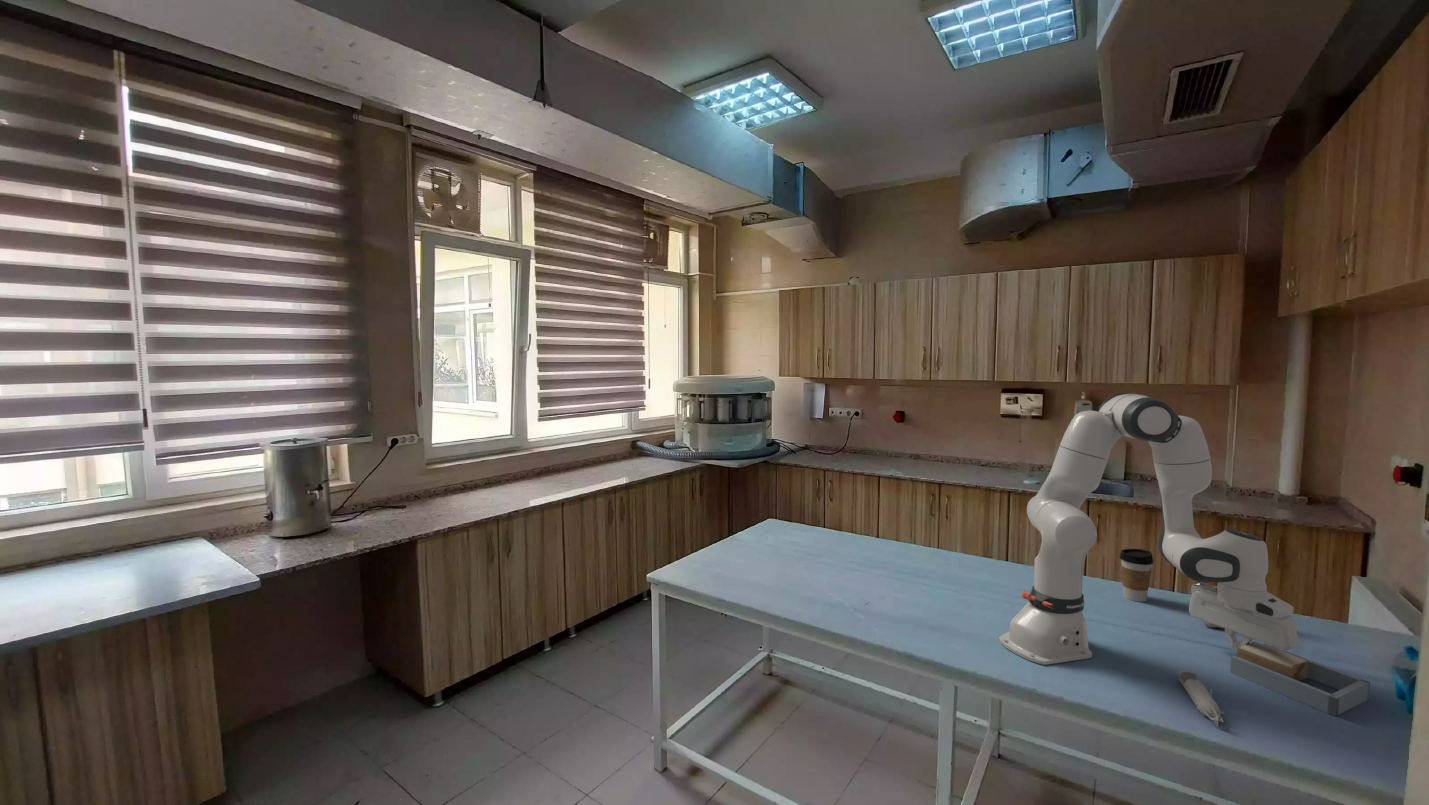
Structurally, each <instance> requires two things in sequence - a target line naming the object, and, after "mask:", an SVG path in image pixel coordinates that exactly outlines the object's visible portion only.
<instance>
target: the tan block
mask: <svg viewBox="0 0 1429 805" xmlns="http://www.w3.org/2000/svg"><path fill="white" fill-rule="evenodd" d="M1263 644H1264V643H1261V642H1258V641H1255V640H1253V641H1251V642H1250V643H1249V644H1246V645H1243V646H1241V647H1238V648H1237V649H1236V656H1237V657H1239V658H1242V659H1244V660H1247V661H1249V662H1252V663H1255V664H1257V665H1260V666H1262V667H1265V668H1267V669H1270V670H1272V671H1275V672H1277V673H1280V674H1282V675H1285V676H1287V677H1290V678H1292V679H1295V680H1297V681H1300V682H1301V681H1302V680H1304V679H1308V678H1307V675H1308V661H1306V660H1304V659H1302V658H1299V657H1296V656H1293V655H1291V654H1288V653H1285V652H1282V651H1280V650H1277V649H1274V648H1271V647H1269V646H1266V645H1263Z"/></svg>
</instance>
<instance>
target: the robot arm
mask: <svg viewBox="0 0 1429 805" xmlns="http://www.w3.org/2000/svg"><path fill="white" fill-rule="evenodd" d="M1123 437H1127V438H1129V439H1136V440H1139V441H1143V442H1144V441H1145V442H1148V444H1149V445H1150V448H1151V452H1152V461H1153V466H1154V471H1155V476H1156V479H1157V483H1158V488H1159V496H1160V505H1161V514H1162V530H1161V534H1160V536H1159V538H1158V543H1157V546H1158V547H1157V548H1158V552H1159V554H1160V556H1162V558H1163V559H1164V560H1165V561H1166V562H1168V563H1169V564H1171V565H1172V566H1174V567H1175V568H1176V569H1177V570H1178V571H1180V572H1181V573H1182V574H1183V575H1185V576H1186V577H1188V578H1189V579H1190V580H1193V581H1194V582H1198V583H1193V584H1192V585H1191V588H1190V590H1191V591H1190V594H1191V598H1190V601H1189V606H1188V613H1189V614H1190V616H1192V617H1193V618H1196V619H1198V620H1201V621H1203V622H1204V621H1206V622H1209V623H1212V624H1215V625H1217V626H1220V627H1223V628H1225V629H1224V633H1225V635H1226V637H1227V638H1228V640H1229V647H1230V648H1233V649H1235V650H1237V648H1238V647H1241V646H1243V645H1246V644H1249V643H1251V642H1253V641H1254V640H1257V641H1259V642H1260V643H1261V642H1262V643H1263V644H1268V645H1270V646H1273V647H1276V648H1279V649H1281V650H1284V651H1289V650H1291V649H1293V648H1295V647H1297V646H1298V627H1297V623H1296V620H1295V619H1294V618H1293V617H1292V614H1293V613H1294V610H1295V609H1294V606H1293V605H1292V604H1289V603H1288V602H1287V601H1284V600H1282V599H1281V598H1279V597H1277V596H1275V595H1273V594H1272V593H1270V592H1269V591H1267V590H1268V586H1267V584H1266V577H1267V574H1268V572H1269V555H1268V553H1269V552H1268V547H1267V544H1266V542H1265V540H1263V539H1262V538H1261V537H1259V536H1257V535H1256V534H1254V533H1250V532H1248V531H1244V530H1240V529H1235V528H1227V529H1224V530H1223V531H1221V532H1220V533H1218V534H1216V535H1213V536H1210V537H1206V538H1202V537H1201V536H1200V534H1199V533H1198V532H1197V530H1196V528H1195V523H1194V513H1193V512H1194V511H1193V503H1192V502H1193V498H1194V496H1195V495H1196V494H1199V493H1201V492H1203V491H1205V490H1206V489H1207V488H1208V487H1209V486H1210V485H1211V483H1212V475H1213V470H1212V469H1213V468H1212V467H1213V466H1212V460H1211V454H1210V450H1209V446H1208V442H1207V439H1206V437H1205V434H1204V431H1203V429H1202V427H1201V425H1200V423H1199V422H1198V421H1197V420H1196V419H1194V418H1193V417H1189V416H1185V415H1177V413H1176V412H1175V411H1174V409H1173V408H1172V407H1171V406H1170V405H1169V404H1168V403H1166V402H1164V401H1163V400H1161V399H1159V398H1156V397H1150V396H1147V395H1144V394H1140V393H1139V394H1138V393H1125V392H1124V393H1118V394H1114V395H1112V396H1109V397H1108V398H1107V399H1105V400H1104V401H1103V402H1102V403H1101V404H1100V405H1099V406H1098V407H1097V408H1096V409H1094V410H1084V411H1083V410H1082V411H1080V412H1077V413H1076V414H1075V415H1074V417H1072V419H1071V421H1070V423H1069V424H1068V426H1067V428H1066V431H1064V434H1063V437H1062V439H1061V442H1060V443H1059V446H1058V450H1057V453H1056V455H1055V458H1054V460H1053V463H1052V467H1051V469H1050V471H1049V473H1048V475H1047V477H1046V479H1045V480H1044V482H1043V484H1042V485H1041V487H1040V488H1039V490H1038V492H1037V493H1036V495H1034V496H1033V497H1032V498H1031V499H1030V500H1029V501H1028V503H1027V506H1026V513H1027V516H1028V519H1029V521H1030V523H1031V525H1032V526H1033V527H1034V528H1036V530H1037V531H1038V532H1040V536H1041V544H1040V548H1039V551H1038V555H1037V556H1035V558H1034V562H1033V563H1034V565H1033V566H1034V568H1033V569H1034V570H1033V585H1032V587H1031V590H1030V592H1028V591H1026V590H1024V591H1022V594H1021V597H1022V598H1023V599H1025V600H1028V602H1027V603H1026V604H1025V605H1024V606H1023V607H1022V609H1020V611H1019V612H1018V613H1017V614H1016V615H1014V617H1013V618H1012V619H1011V620H1010V623H1009V628H1008V631H1007V632H1005V633H1003V634H1001V635H1000V636H999V637H998V641H999V643H1000V644H1001V645H1002V646H1003V647H1005V648H1006V649H1008V650H1009V651H1010V652H1012V653H1013V654H1015V655H1017V656H1019V657H1022V658H1023V659H1026V660H1028V661H1030V662H1033V663H1036V664H1039V665H1043V666H1045V665H1053V664H1059V663H1060V664H1061V663H1067V662H1072V661H1079V660H1087V659H1091V658H1092V657H1093V653H1092V651H1091V649H1090V648H1089V637H1088V628H1087V622H1086V619H1085V617H1084V614H1083V610H1085V609H1084V608H1085V607H1084V606H1085V598H1084V596H1085V595H1084V594H1083V579H1084V578H1083V575H1084V565H1085V562H1086V561H1085V560H1086V558H1087V554H1088V552H1089V549H1090V548H1091V547H1093V545H1094V544H1095V543H1096V540H1097V537H1098V532H1097V527H1096V526H1095V524H1094V522H1093V520H1092V519H1091V518H1090V517H1089V516H1088V514H1087V513H1086V512H1084V511H1082V509H1081V507H1082V505H1083V504H1084V502H1085V501H1086V500H1087V497H1089V495H1090V494H1091V493H1092V492H1094V491H1096V490H1097V488H1098V487H1099V486H1100V482H1101V481H1102V480H1101V479H1102V478H1103V475H1104V472H1105V469H1106V467H1107V464H1108V461H1109V458H1110V456H1111V452H1112V448H1113V447H1114V446H1115V444H1116V442H1117V441H1119V439H1121V438H1123ZM1207 583H1208V584H1209V583H1211V584H1212V583H1213V584H1214V583H1217V585H1216V586H1217V588H1216V587H1212V586H1213V585H1208V584H1207ZM1236 633H1238V634H1239V635H1241V639H1243V641H1241V640H1238V638H1237V637H1236Z"/></svg>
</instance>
